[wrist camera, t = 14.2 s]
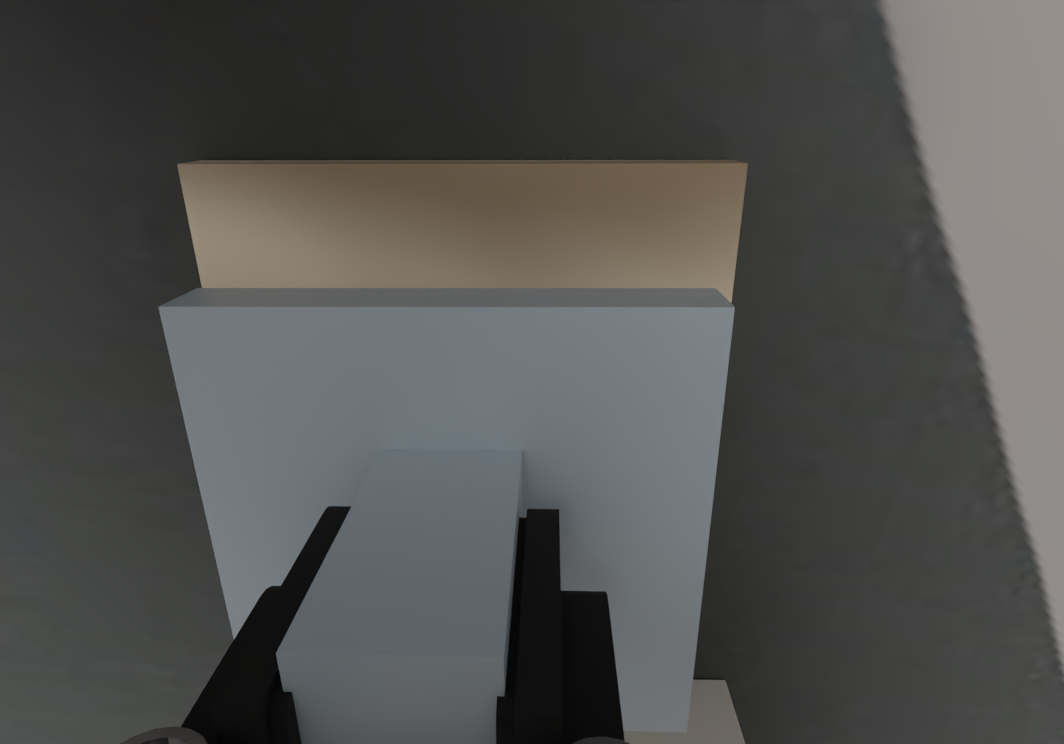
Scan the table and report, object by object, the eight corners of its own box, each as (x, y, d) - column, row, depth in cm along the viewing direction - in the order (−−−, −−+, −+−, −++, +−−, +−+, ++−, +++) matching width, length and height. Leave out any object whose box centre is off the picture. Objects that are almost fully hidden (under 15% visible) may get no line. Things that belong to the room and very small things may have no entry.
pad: (200, 160, 15) (176, 163, 14) (735, 159, 14) (747, 163, 13) (280, 585, 19) (266, 610, 18) (686, 590, 19) (694, 615, 18)
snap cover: (197, 287, 11) (-121, 439, 6) (716, 288, 11) (870, 446, 6) (275, 677, 15) (117, 998, 9) (676, 684, 14) (749, 1018, 9)
